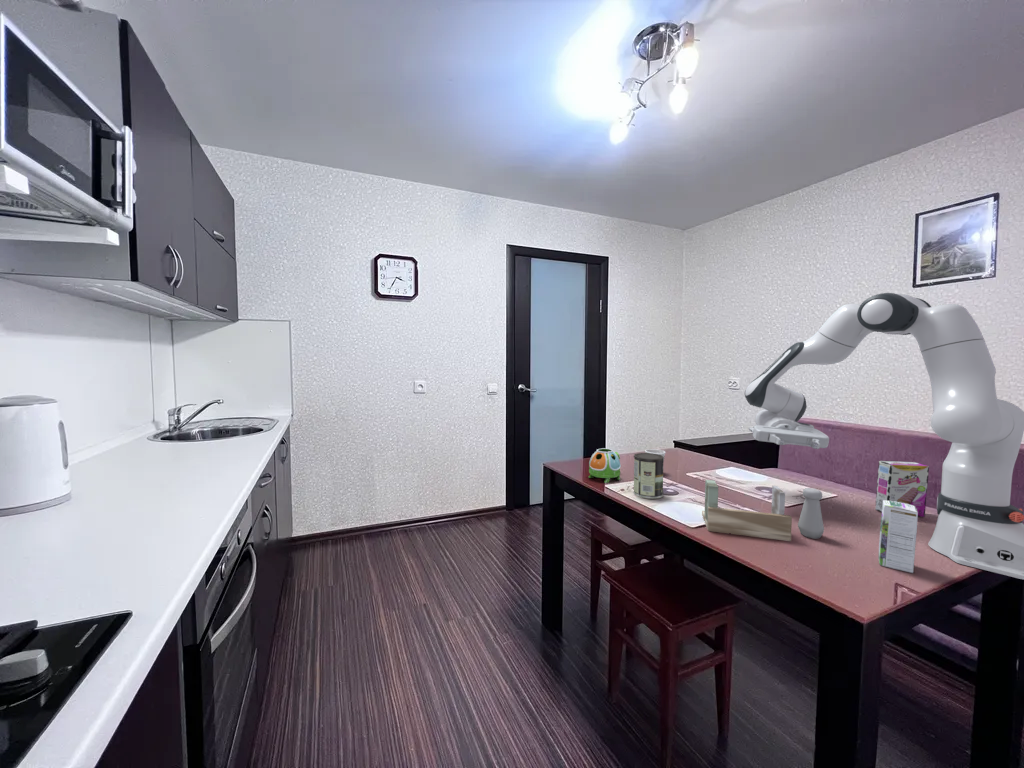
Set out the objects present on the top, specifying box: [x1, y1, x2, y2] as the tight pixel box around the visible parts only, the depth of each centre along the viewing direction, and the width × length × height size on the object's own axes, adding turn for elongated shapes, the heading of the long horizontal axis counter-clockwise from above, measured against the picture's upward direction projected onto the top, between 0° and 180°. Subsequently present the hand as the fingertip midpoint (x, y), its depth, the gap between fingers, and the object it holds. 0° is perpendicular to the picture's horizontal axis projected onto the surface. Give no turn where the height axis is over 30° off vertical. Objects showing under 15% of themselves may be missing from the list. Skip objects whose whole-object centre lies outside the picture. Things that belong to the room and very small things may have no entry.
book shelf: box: [701, 479, 793, 542], centre depth 113 cm, size 12×20×12 cm, turn 72°
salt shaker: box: [797, 487, 825, 540], centre depth 107 cm, size 6×6×13 cm
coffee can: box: [632, 452, 665, 500], centre depth 141 cm, size 10×10×14 cm
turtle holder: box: [588, 447, 622, 484], centre depth 162 cm, size 12×18×12 cm
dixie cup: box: [644, 448, 666, 464], centre depth 168 cm, size 8×8×10 cm
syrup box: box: [878, 500, 919, 574], centre depth 92 cm, size 6×6×14 cm
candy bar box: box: [874, 460, 930, 518], centre depth 124 cm, size 11×5×16 cm, turn 84°
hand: (798, 444), depth 118 cm, fingers open, 8 cm apart
